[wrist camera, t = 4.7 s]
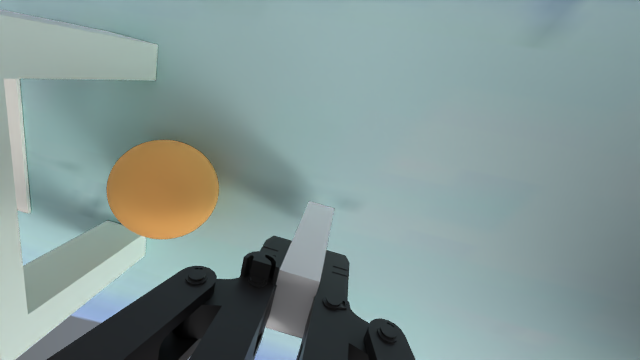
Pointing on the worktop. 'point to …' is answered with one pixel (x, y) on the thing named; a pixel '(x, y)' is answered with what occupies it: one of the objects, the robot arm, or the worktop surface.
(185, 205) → the ball
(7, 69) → the bridge
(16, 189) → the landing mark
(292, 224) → the worktop surface
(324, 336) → the robot arm
